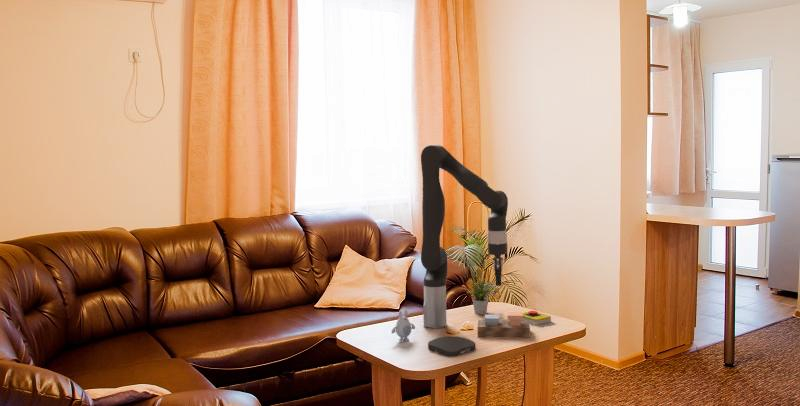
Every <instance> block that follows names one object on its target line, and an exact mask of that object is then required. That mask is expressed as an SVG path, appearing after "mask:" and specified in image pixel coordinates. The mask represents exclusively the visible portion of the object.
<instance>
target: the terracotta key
mask: <svg viewBox="0 0 800 406" xmlns="http://www.w3.org/2000/svg"><path fill="white" fill-rule="evenodd" d="M522 313H523V312H522V311H507V320H509V326H521V320H522Z"/></svg>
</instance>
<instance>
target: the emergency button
mask: <svg viewBox="0 0 800 406" xmlns="http://www.w3.org/2000/svg"><path fill="white" fill-rule="evenodd" d="M521 321H529V325H532V326H534V327H538V328H544V327H547V326H551V325H552V326H553V325H555V324H556V323H555V322H554V321H552V317H551V315H549V314H545V313H541V312H539V311H536V310H529V311H524V312H522V320H521Z"/></svg>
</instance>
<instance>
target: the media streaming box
mask: <svg viewBox="0 0 800 406" xmlns="http://www.w3.org/2000/svg"><path fill="white" fill-rule="evenodd" d="M427 348H428V351H430V352H433V353H435V354H438V355H441V356H444V357H448V358H449V357H451V358H452V357H453V358H454V357H459V356H462V355H466V354H469V353H471V352H474V351H476V348H477V347H476V342H475V341H473V340H471V339H469V338H466V337H462V336H455V335H454V336H453V335H452V336H440V337H437V338H434V339H432V340H430V341H429V342H428V343H427Z"/></svg>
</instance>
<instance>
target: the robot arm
mask: <svg viewBox="0 0 800 406" xmlns="http://www.w3.org/2000/svg"><path fill="white" fill-rule="evenodd" d="M420 153H421V154H420V165H421V174H422V203H421V204H422V205H421V208H422V209H421V210H422V242H421V243H422V245H421V251H420V263H421V264H422V267H424V269H425V270H426V271H425V275H424V277H423V306H422V307H423V311H422V312H423V327H424V328H430V329H439V328H440V329H441V328H444V326H445V325H446V326H447V285H446V284H447V278H448V255H447V251H446V249H444V247H442V246H441V233H442V229H443V225H444V220H445V216H446V215H445V214H446V212H445V211H446V205H445V204H446V203H445V195H444V191H443V189H442V185H441V182H440V181H441V180H440V169H441V170H444V171H445V172H447V173H448V174H450V175H451V176H452V177H453V178H454V179H455V180H456V181H457V183H458V184H460V186H462V188H464V189H465V190H466V191H467V192H469V193H471V194H472V195H474V196H475V197H476V198H477V199H478V200H479V201H480V202H481V203H482V204H483V205H484V206H485V207H487V208H488V209H490V215H489V216H488V219H487V253H488V255H492V256H494V257H492V264H493V271H494V277H495V282H496V283H495V286H497V287H501V286H502V276H503V273H502V272H503V270H504V269H503V264H504V257H502V256H504V255H507V254H508V233H507V220H506V219H507V214H508V205H509V201H508V196H507V194H506V193H505V192H504V191H502V190H494V189H493V188H491V187H490V186H489V184H488V183H487V181H485V179H483V178H482V177H480V176H479V175H477V174H476V173H474V172H473V171H471V170H470V169H469V168H467V167H466V166H464V164H462V163H461V162H460V161H458V160H457V159H456V157H454V156H453V155H452V154H451V153H450V151H448V150H447V149H446V148H445V147H444V146H443V145H440V144H439V145H438V144H429V145H426V146H425V147H423V149H422V151H421V152H420ZM446 326H445V327H446Z"/></svg>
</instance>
